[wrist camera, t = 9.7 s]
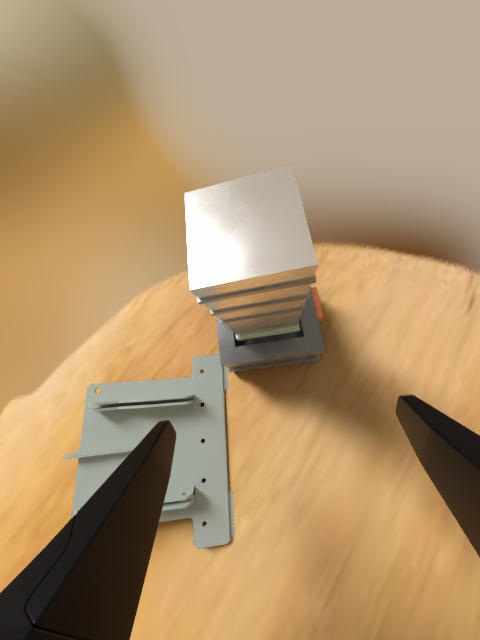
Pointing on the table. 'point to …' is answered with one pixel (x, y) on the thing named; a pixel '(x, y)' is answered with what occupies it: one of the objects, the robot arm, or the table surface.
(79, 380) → the table surface
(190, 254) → the column
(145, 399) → the metal bracket
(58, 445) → the table surface
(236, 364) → the collar
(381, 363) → the table surface
